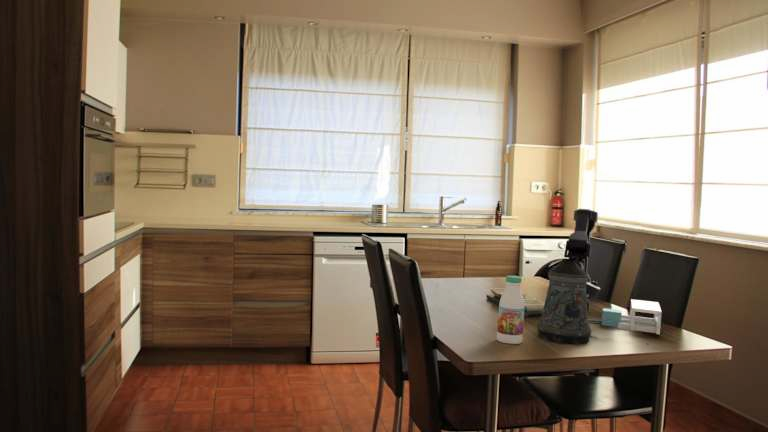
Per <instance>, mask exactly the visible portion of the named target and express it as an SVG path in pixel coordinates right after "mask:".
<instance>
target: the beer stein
mask: <svg viewBox="0 0 768 432" xmlns="http://www.w3.org/2000/svg"><path fill="white" fill-rule="evenodd" d="M547 275H548V279H549V284H548V287H547V291H546V297H545V300H544V305H543V309H542V312H541V315H540V318H539V321H538V322H537V326H536V327H537V335H538V337H539V339H542V340H544V341H547V342H550V343H555V344H561V345H568V346H569V345H573V346H578V345H579V346H581V345H586V344H588V343H590V339H591V335H592V329H591V325H590V322H589V321H588V319H589V315H588V314H589V313H588V312H589V311H587V297H586V283H587V282H588V279H589V277H590V275H589V274H588V275H589V276H588V275H587V273H586V272H585V271H584V270H583V269H582V268H581V267H580V266H579V265H578V264H577V262H576V260H573V259H569V258H562V259H561V261H560V262H559V263H558V264H556V265H555V266H553V268H551V269H550V270H549V271H548V273H547Z"/></svg>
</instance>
